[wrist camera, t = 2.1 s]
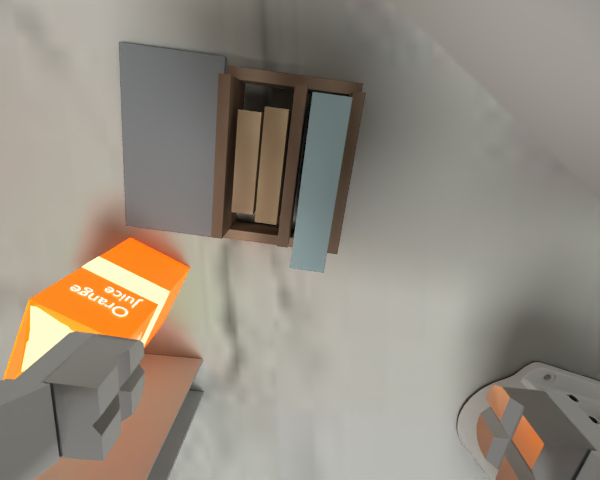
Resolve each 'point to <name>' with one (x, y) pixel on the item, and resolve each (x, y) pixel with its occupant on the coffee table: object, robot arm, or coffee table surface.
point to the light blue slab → (320, 179)
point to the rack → (225, 145)
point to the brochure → (145, 427)
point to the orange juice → (101, 302)
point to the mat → (169, 137)
